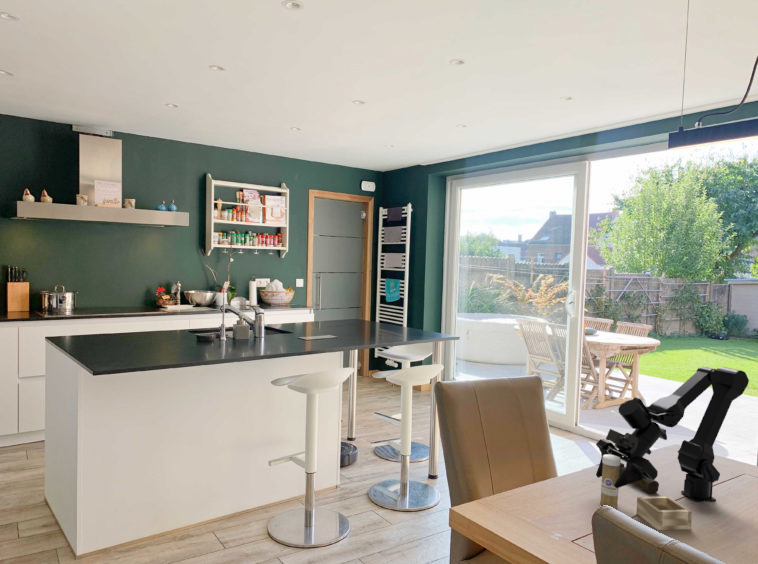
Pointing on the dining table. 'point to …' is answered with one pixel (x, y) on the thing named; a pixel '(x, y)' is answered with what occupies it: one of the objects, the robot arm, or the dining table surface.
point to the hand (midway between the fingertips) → (606, 481)
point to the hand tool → (643, 482)
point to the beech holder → (664, 513)
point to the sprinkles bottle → (610, 480)
